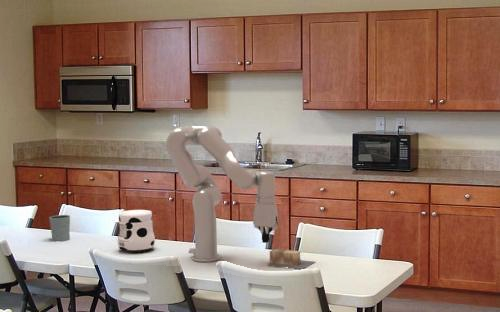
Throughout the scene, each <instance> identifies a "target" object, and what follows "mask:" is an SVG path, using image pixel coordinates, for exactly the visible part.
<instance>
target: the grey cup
mask: <svg viewBox="0 0 500 312" xmlns="http://www.w3.org/2000/svg"><path fill="white" fill-rule="evenodd" d="M70 217H71V216H70V215H68V214H60V215H59V214H57V215H51V216H49V218H48V219H49V224H50V231H51V232H50V233H51V240H53V242H56V241H60V242H67V241H69V240H70V236H71V235H70V232H71V231H70V224H71V218H70Z"/></svg>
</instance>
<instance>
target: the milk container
mask: <svg viewBox="0 0 500 312" xmlns="http://www.w3.org/2000/svg"><path fill="white" fill-rule="evenodd" d="M118 213H119V214H118V236H117V245H118V249H119V250H121V251H124V252H127V253H142V252H146V251H150V250H152V249H153V248H154V247H155V243H156V242H155V241H156V238H155V233H154V230H153V228H154V227H153V213H152V210H147V209H130V210H123V211H120V212H118Z"/></svg>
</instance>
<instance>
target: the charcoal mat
mask: <svg viewBox="0 0 500 312" xmlns="http://www.w3.org/2000/svg"><path fill="white" fill-rule="evenodd" d="M315 263H316V261H311V260H303V259H300V263H299V264H297V265H286V264H276V263H269V264H267V265H266V266H267V267H272V266H276V267H275V268H281V267H288V268H287V269H291V268H294V270H300V269H303V270H304V269H307V268H308V267H309V266H311V265H314V264H315Z"/></svg>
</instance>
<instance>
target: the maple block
mask: <svg viewBox="0 0 500 312" xmlns="http://www.w3.org/2000/svg"><path fill="white" fill-rule="evenodd" d="M300 260H301V251H299V250H291V249H279V248H273V249H272V250H269V264H271V263H276V264H286V265H297V264H299V263H300Z"/></svg>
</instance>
